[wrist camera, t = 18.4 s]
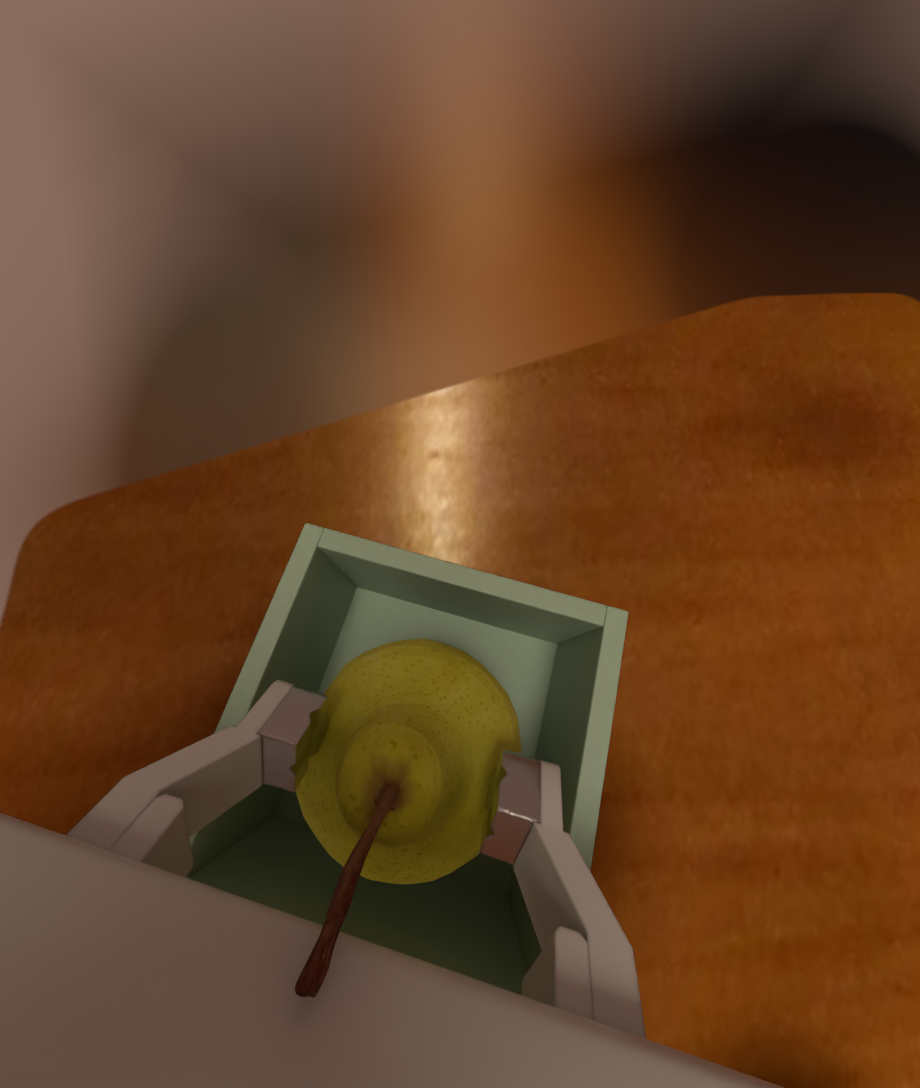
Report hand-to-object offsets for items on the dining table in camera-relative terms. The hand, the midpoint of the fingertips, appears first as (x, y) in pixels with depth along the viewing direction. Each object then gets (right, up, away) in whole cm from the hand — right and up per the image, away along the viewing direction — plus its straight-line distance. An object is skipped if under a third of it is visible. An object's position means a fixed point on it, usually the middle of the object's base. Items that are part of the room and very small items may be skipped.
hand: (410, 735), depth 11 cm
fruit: (0, -3, +6) cm, 7 cm away
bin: (0, -4, +10) cm, 11 cm away
